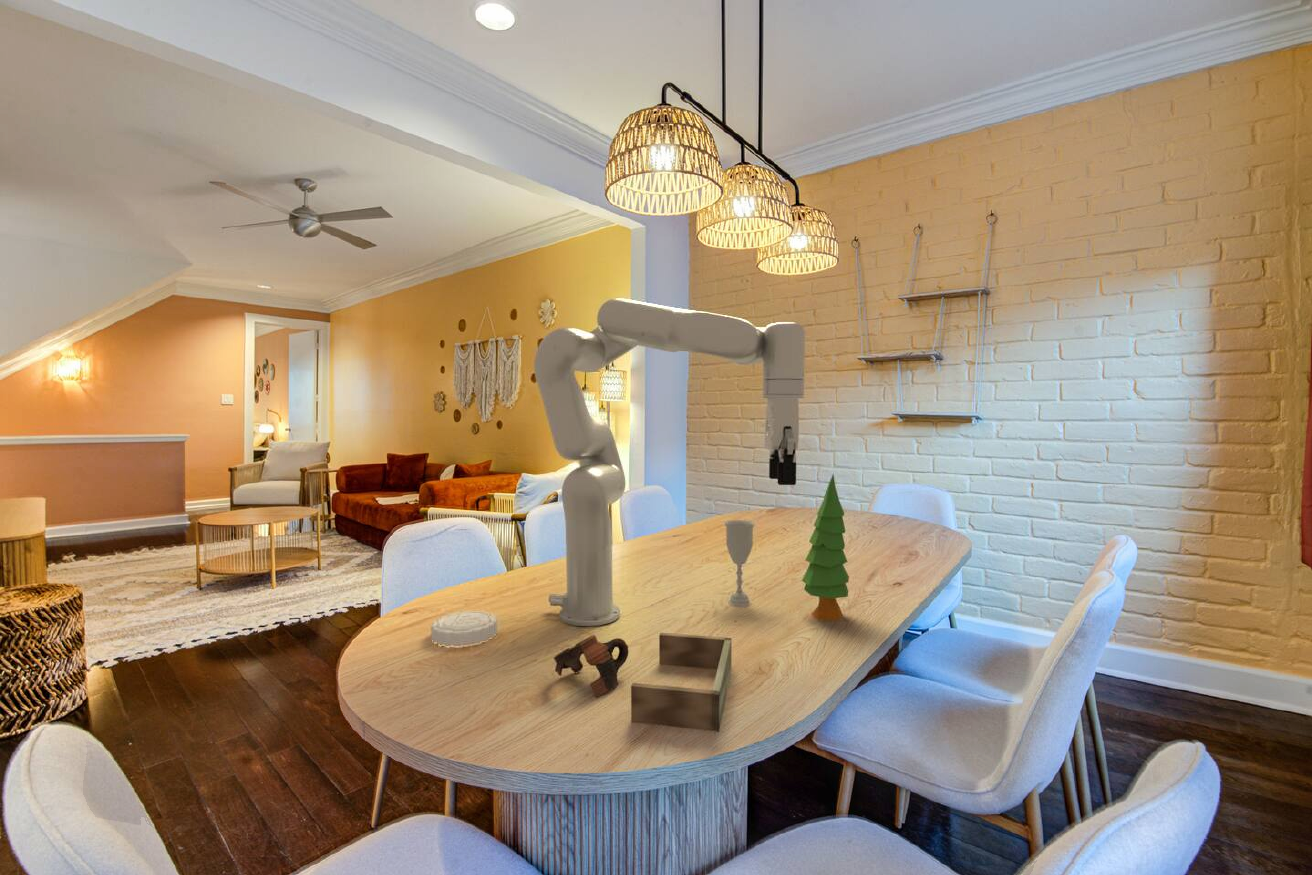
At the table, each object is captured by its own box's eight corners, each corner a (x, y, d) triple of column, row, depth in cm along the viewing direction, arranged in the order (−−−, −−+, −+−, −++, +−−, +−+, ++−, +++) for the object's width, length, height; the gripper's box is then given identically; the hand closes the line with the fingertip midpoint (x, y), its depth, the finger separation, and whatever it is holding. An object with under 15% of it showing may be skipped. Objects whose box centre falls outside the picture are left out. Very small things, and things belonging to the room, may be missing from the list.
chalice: (754, 609, 126) (754, 526, 125) (722, 607, 127) (722, 525, 127) (755, 598, 133) (755, 520, 132) (725, 597, 134) (725, 519, 134)
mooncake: (490, 648, 106) (490, 629, 106) (422, 650, 105) (422, 631, 105) (502, 625, 118) (502, 607, 118) (441, 626, 117) (441, 609, 117)
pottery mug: (581, 709, 84) (558, 655, 86) (563, 711, 92) (541, 662, 94) (647, 668, 91) (624, 618, 93) (625, 673, 99) (604, 627, 100)
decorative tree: (847, 626, 115) (848, 475, 114) (798, 621, 119) (799, 474, 118) (849, 611, 124) (850, 471, 123) (804, 606, 128) (804, 470, 127)
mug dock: (631, 721, 80) (631, 685, 80) (660, 661, 99) (660, 632, 99) (719, 731, 77) (719, 694, 77) (731, 667, 97) (731, 637, 97)
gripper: (756, 392, 117) (755, 476, 118) (770, 388, 100) (768, 487, 101) (794, 392, 117) (793, 477, 118) (814, 388, 100) (812, 487, 101)
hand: (781, 481), depth 109 cm, fingers open, 9 cm apart
